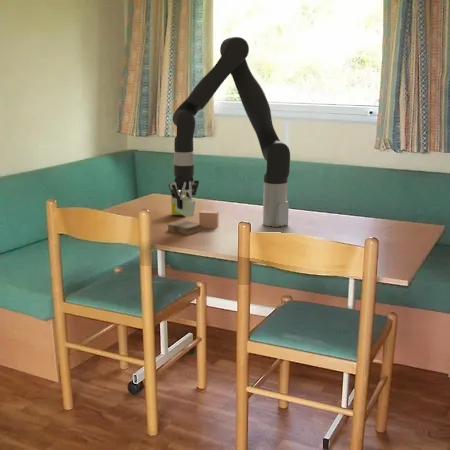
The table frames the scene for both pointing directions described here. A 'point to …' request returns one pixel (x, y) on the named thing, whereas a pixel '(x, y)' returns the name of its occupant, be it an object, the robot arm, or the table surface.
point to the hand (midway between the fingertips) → (184, 207)
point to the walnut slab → (184, 227)
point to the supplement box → (174, 206)
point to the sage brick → (186, 207)
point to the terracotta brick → (209, 219)
